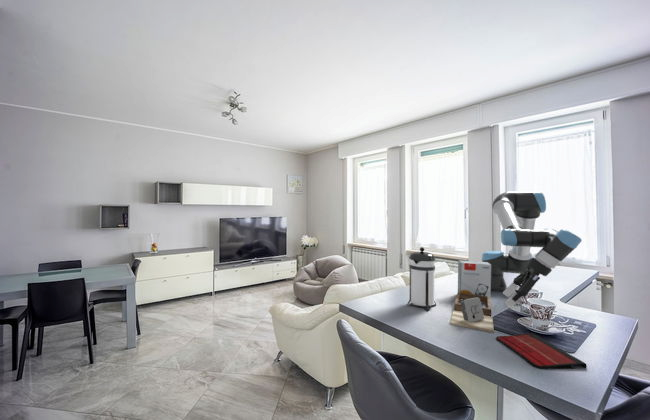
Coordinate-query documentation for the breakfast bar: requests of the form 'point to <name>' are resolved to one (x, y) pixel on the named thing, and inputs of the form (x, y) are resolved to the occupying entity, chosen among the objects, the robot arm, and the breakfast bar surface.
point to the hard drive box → (474, 278)
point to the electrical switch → (472, 309)
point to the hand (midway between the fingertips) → (506, 299)
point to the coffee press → (422, 279)
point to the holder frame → (468, 296)
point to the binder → (539, 352)
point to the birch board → (479, 325)
